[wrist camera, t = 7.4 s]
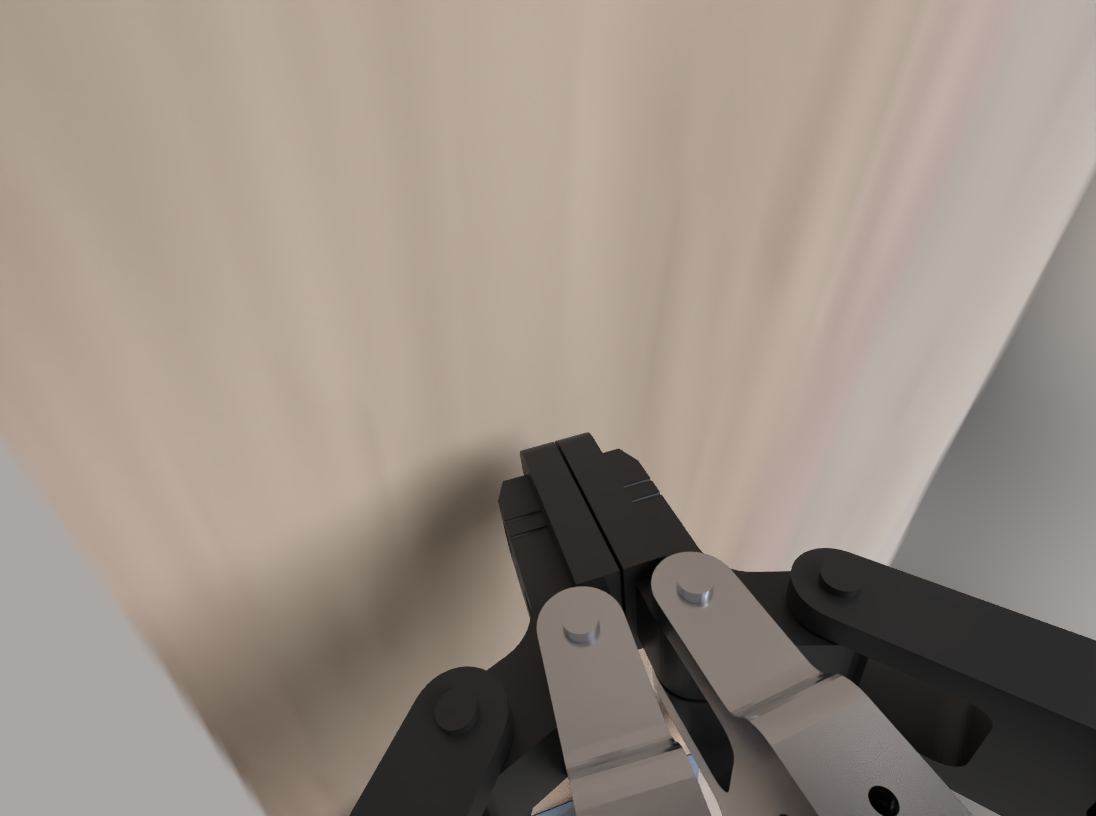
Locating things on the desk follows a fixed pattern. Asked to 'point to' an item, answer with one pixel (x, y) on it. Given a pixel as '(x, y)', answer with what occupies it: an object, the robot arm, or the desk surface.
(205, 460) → the desk surface
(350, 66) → the desk surface
